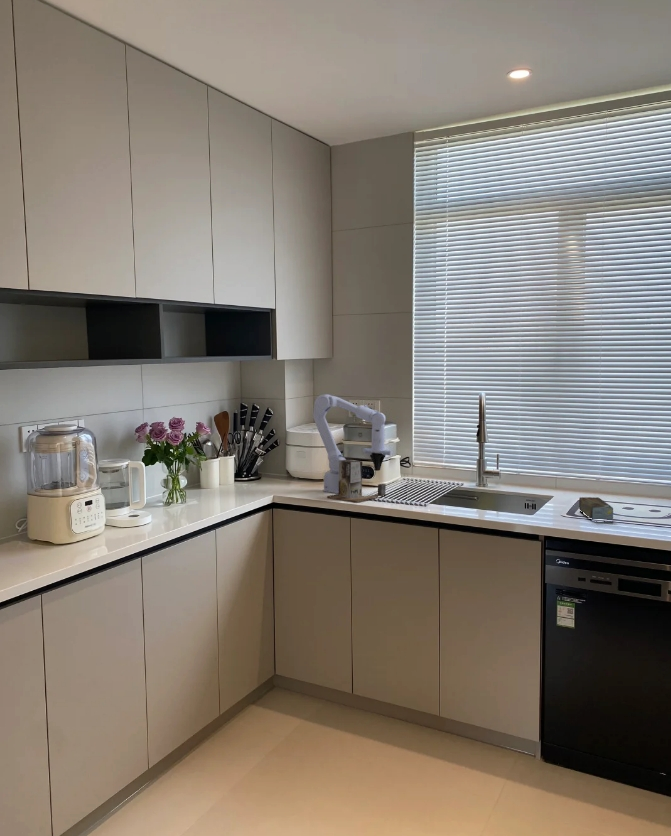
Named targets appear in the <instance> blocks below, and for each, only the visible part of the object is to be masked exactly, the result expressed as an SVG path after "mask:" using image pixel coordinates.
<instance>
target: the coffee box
mask: <svg viewBox="0 0 671 836" xmlns="http://www.w3.org/2000/svg"><path fill="white" fill-rule="evenodd" d="M362 491H363V461H361V460H356V459H355V460H354V459H346V460H339V493H338V494H339V496H342V497H346V498H350V499H352V498H360V497H362V496H363V495H362V493H363V492H362Z"/></svg>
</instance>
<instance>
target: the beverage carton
mask: <svg viewBox="0 0 671 836" xmlns="http://www.w3.org/2000/svg"><path fill="white" fill-rule="evenodd" d="M578 507H579V509H580V510H581V511H582V512H584V513H585V514H586V515H587V516H589V517H590V518H592V519H607V520H613V521H614V508H613V506H611V505H610V504H609V503H607V502H606V501H605V500H603V499H602V498H600V497H597V496H595V497H593V496H592V497H591V496H589V497H587V496H584V497H581V496H580V497H579V500H578ZM579 509H578V510H579Z"/></svg>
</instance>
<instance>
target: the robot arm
mask: <svg viewBox="0 0 671 836" xmlns="http://www.w3.org/2000/svg"><path fill="white" fill-rule="evenodd" d="M313 404H314V407H313V414H312V419H313V420H314V423H315V426H316V428H317V431H318V433H319V435H320V436H319V437H320V438H321V441H322V443H323V445H324V448H325V451H326V453H327V459H328V468H329V469H330V470H329V471H325V473H324V476H323V489H322V491H323V492H327V493H328V492H329V493H332V494H334V493H335V494H339V460H347V459H346V458H345V457H344V456H343V454H342V453H341V450H340V449H339V448H338V446H337V443H336V441H335V439H334V436H333V433H332V431H331V428H330V426H329V423H328V420H327V418H326V416H327V413H328V411H329V410H330V409H331V408H336V407H339V408H341V409H344V410H347V411H349V412H352V413H354V414H355V417H357V418H358V419H361V420H363V421H365V422H366V423H367V422H368V423H371V426H372V427H371V448H369V447H367V448H366V447H365V448H363V450H362V452H363V454H370V455H369V458H370V459H371V461H372V463H373V467H374V471H376V472H377V471H381V467H382V464H383V461H384V459H385V458H386V456H393V454H394V451H393V450H390V449H389V450H388V449H385V443H386V442H385V441H386V440H385V438H386V437H385V436H386V434H385V433H386V432H385V431H386V430H385V426H386V425H385V422H386V421H387V420H386V419H387V418H386V415H385V414H384V413H382V412H381V411H378V410H377V409H372V408H370V407H369V406H368V405H367V404H364V405H362V404H360V405H356V404H355V403H354V404H353V403H352V402H349V401H347V400H345V399H343V398H341V397H339V396H336V395H331V394H329V393H325V394H320V395H318V397H317V398H316V399H315V400H314V403H313Z"/></svg>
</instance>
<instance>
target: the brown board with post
mask: <svg viewBox="0 0 671 836" xmlns="http://www.w3.org/2000/svg"><path fill="white" fill-rule="evenodd" d="M386 487H387V486H386V483H379V484H377V493H376V494H372V495H368V496H367V495H362V497H360V498H352V499H350V498H346V497H342V496H339V493H335V494H332V495H331V494H330V495H327V496H326V498H327V499H331V500H337V501H338V500H339V501H344V502H351V503H356V504H357V503H363V502H366V501H370V500H369V499H371V500H373V499H372V498H375V497H378V496H383V495H386V496H387V494H386ZM383 497H384V496H383ZM375 499H376V498H375Z"/></svg>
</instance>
